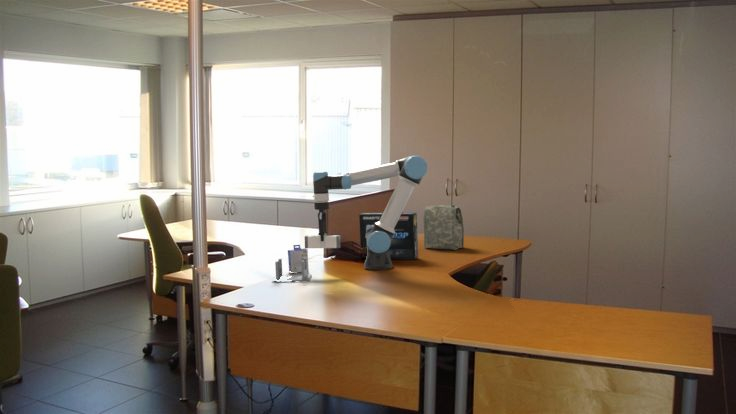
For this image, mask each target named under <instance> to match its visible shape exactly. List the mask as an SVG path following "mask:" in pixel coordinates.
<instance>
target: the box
mask: <svg viewBox="0 0 736 414" xmlns="http://www.w3.org/2000/svg"><path fill="white" fill-rule="evenodd" d="M382 214H383V212H362V213H359V215H358V216H359V218H358V219H359V220H358V221H359V240H360V241H359V243H360V248H361V247H364V248H367V235H366V227H367V226H372V225H374V224H375V223H376V222H379V221H380V219H381V216H382ZM417 216H418V215H417V212H402V213H401V215H400V217H399V220H398V222H397V224H396V226H395V228H394V231H395V234H394V236H393V238H392V240H391V244H390V247H389V255H390V258H391V260H411V261H413V260H417V258H419V242H418V241H419V240H418V221H417V220H418V219H417V218H418V217H417Z"/></svg>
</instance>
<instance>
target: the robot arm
mask: <svg viewBox="0 0 736 414" xmlns="http://www.w3.org/2000/svg"><path fill="white" fill-rule="evenodd" d="M427 171H428V163H427V161H426V159H425V158H423V157H422V156H420V155H417V154H416V155H415V154H414V155H410V156H406V157H404V158H400V159H397V160H395V162H391V163H386V164H380V165H377V166H376V165H375V166H371V167H367V168H361V169H356V170H352V171H347V172H339V173H337V174H328V171H314V172H313V174H312V175H313V176H312V177H313V178H312V183H313V185H312V186H313V195H312V198H314V199H313V200H314V203H313V205H314V210H316V211H318V213H317V219H318V234H317V236H320V248H319V249H326V248H325V247H326V244H325V236H327V234H328V233H329V232H328V229H327V212H326V210H329V209H330V201H329V200H330V198H329V196H330V193H329V190H330V191H333V190H335V191H336V190H350V189H352V186H357V185H363V184H366V183H372V182H377V181H382V180H387V179H393V178H399V180H398V182H397V184H396V186H395V188H394V190H393V192H392V194H391V196H390V198H389V201H388V202H387V205H386V207H385V209H383V210H384V211H383V212H382V213H383V214H382V216H381V219H380V221H379V222H376V223H375V224H374V225H372V226H367V227H366V235H367V256H366V259H365V260H364V269H366V270H368V271H369V270H371V271H380V270H381V271H382V270H389V269H392V268H393V261H392V259H391V258H390V255H389V247H390V244H391V240H392V238H393V236H394V234H395V231H394V228H395V226H396V224H397V222H398V220H399V217H400V215H401V213H403V211H404V209H405V208H406V205H407V204H408V201H409V199H410V196H411V195H412V194H413V191H414V189H415V187H418V186H420V184H421V182H422V180H423V178H424V177H425V176H426V174H427Z"/></svg>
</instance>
